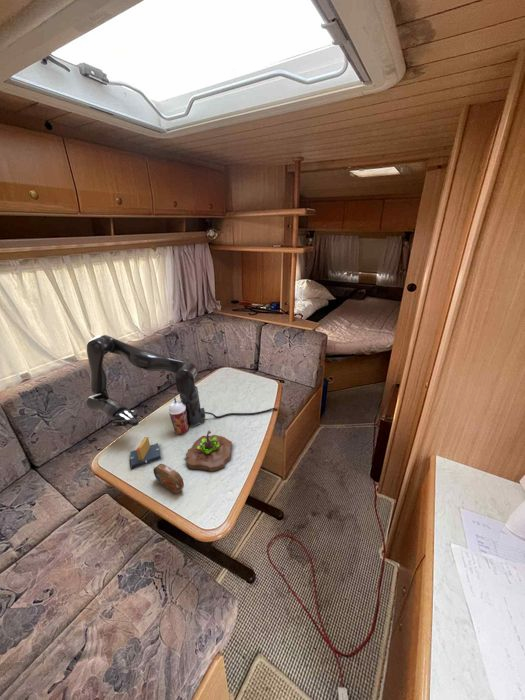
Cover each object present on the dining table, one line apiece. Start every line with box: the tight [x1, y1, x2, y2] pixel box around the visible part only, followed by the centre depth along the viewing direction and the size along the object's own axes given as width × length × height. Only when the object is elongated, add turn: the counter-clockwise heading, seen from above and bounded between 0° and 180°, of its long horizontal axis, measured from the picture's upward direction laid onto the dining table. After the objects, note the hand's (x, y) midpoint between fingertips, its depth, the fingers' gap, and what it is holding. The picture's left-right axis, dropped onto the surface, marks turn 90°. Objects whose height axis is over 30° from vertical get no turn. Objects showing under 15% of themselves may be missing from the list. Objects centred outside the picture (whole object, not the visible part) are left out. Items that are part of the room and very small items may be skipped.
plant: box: [185, 430, 233, 472], centre depth 122 cm, size 20×20×11 cm
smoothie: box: [167, 397, 189, 435], centre depth 135 cm, size 8×8×20 cm
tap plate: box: [129, 442, 162, 470], centre depth 123 cm, size 12×12×2 cm
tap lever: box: [135, 436, 151, 460], centre depth 121 cm, size 8×2×6 cm, turn 176°
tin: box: [153, 463, 185, 494], centre depth 108 cm, size 15×3×8 cm, turn 58°
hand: (136, 423), depth 123 cm, fingers closed
